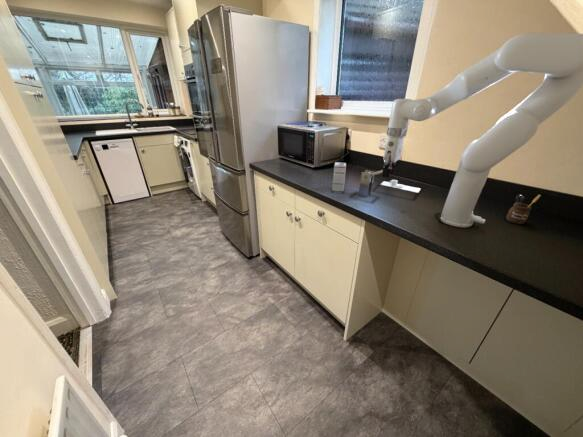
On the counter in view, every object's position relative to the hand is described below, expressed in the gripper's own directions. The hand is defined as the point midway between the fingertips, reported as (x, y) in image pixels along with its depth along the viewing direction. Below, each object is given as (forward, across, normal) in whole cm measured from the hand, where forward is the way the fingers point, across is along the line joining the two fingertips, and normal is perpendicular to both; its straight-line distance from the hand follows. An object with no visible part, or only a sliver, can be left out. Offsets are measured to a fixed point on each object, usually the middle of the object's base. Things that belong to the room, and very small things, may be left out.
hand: (387, 175), depth 104 cm
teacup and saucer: (+13, +21, -1) cm, 25 cm away
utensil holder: (+13, +15, -49) cm, 53 cm away
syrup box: (+13, -1, +23) cm, 26 cm away
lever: (+1, 0, +4) cm, 4 cm away
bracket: (+13, 0, +9) cm, 16 cm away
